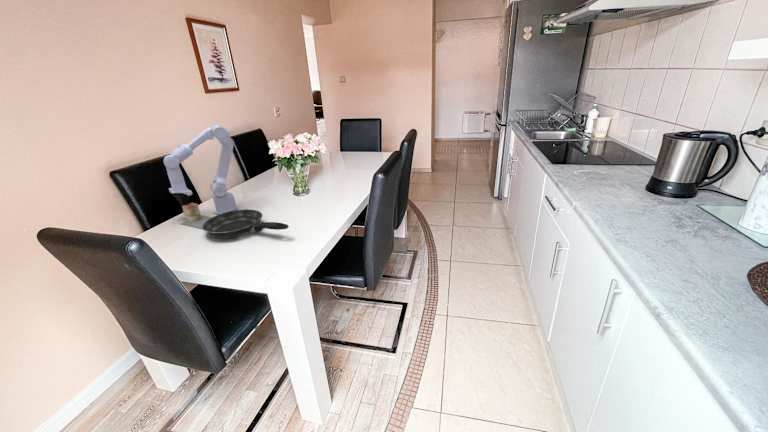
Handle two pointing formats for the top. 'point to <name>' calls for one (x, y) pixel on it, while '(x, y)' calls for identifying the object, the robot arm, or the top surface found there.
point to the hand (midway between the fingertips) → (185, 207)
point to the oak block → (191, 212)
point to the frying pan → (238, 223)
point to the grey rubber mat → (197, 222)
